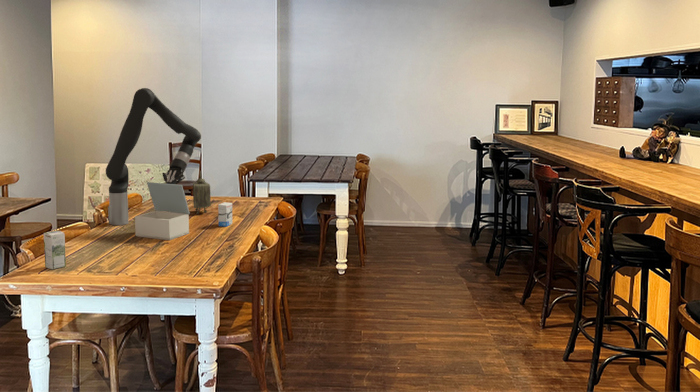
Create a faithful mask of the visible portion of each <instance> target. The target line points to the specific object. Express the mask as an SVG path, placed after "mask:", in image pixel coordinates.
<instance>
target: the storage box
mask: <svg viewBox="0 0 700 392" xmlns="http://www.w3.org/2000/svg"><path fill="white" fill-rule="evenodd" d="M189 215H190V214H184V213H174V212H165V211H156V210H154V211H149V212H146V213H143V214H139V215H135V216H134V223H135V225H134V226H135V227H134V228H135V237H139V238H146V239H148V238H149V239H155V240H163V241H171V240H175V239H178V238H180V237H183V236H186V235H188V234H190V221H189V219H190V216H189Z"/></svg>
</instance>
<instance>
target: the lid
mask: <svg viewBox="0 0 700 392" xmlns="http://www.w3.org/2000/svg"><path fill="white" fill-rule="evenodd" d="M146 185H147V188H148V192H149V195H150V198H151V200H152V201H151V202H152V204H153V208H154V211H163V212H173V213H182V214H189V215H190V214H191V212H190V210H189V205H188V202H187V199H186V198H187V197H186V194H185V191H184V188H183V187H184V186H183V185H182V184H166V183H163V182H153V181H151V182H150V181H147V182H146Z"/></svg>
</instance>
